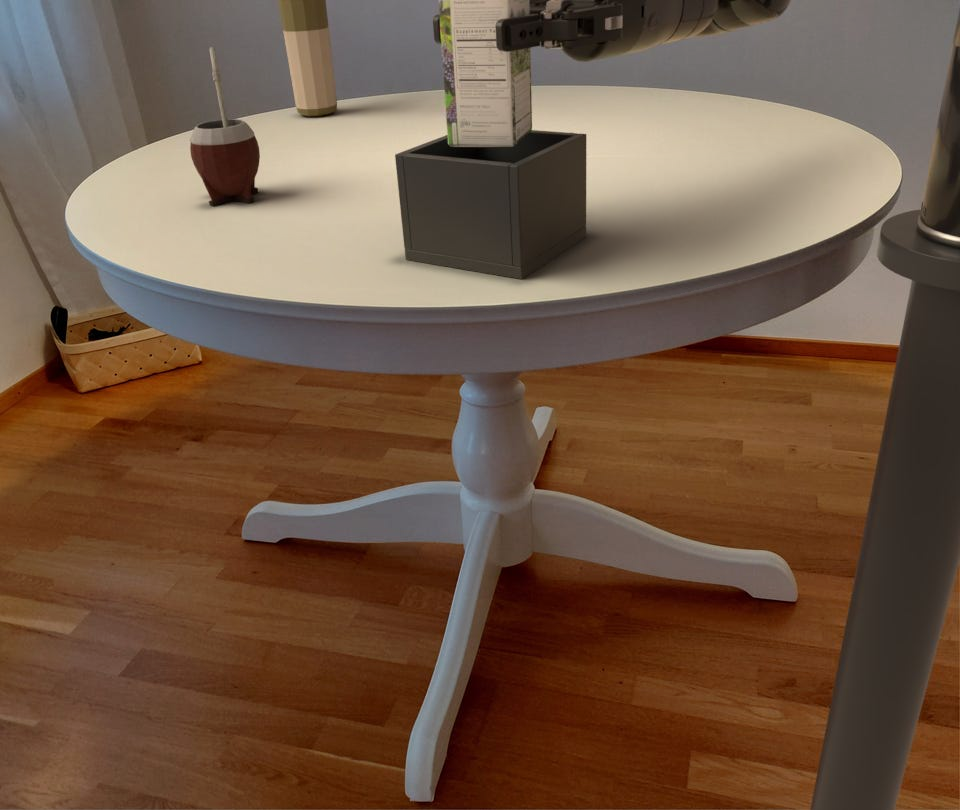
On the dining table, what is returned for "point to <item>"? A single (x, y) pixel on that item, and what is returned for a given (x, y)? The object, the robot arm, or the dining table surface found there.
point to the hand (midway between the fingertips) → (466, 33)
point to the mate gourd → (225, 153)
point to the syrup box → (484, 75)
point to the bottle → (309, 55)
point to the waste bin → (493, 202)
